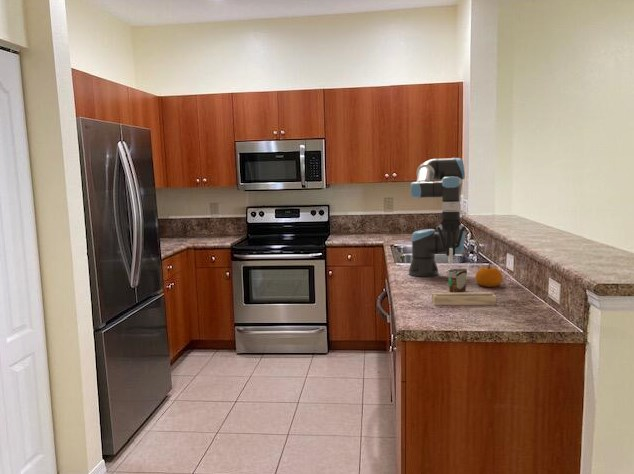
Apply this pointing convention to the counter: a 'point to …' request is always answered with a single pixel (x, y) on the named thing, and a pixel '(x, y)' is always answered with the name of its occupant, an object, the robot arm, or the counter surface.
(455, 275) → the food container
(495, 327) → the counter surface
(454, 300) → the board
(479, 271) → the fruit
